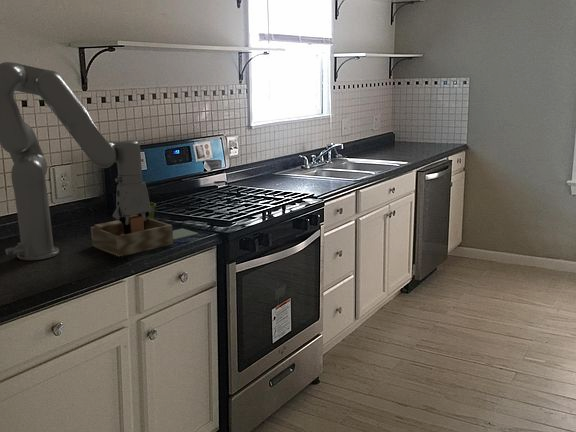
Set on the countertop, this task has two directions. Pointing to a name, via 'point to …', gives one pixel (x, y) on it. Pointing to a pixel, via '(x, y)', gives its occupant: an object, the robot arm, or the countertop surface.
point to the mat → (183, 234)
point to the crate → (131, 237)
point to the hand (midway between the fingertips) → (135, 233)
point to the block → (136, 223)
